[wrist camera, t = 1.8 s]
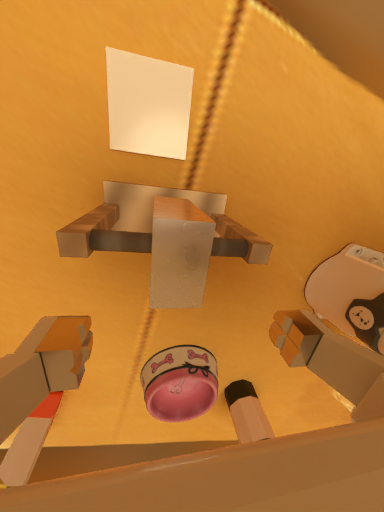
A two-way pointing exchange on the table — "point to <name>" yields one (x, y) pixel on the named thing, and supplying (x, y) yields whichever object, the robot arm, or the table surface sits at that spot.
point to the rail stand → (141, 224)
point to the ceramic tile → (148, 104)
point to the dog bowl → (180, 383)
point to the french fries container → (28, 443)
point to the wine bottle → (247, 413)
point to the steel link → (179, 253)
